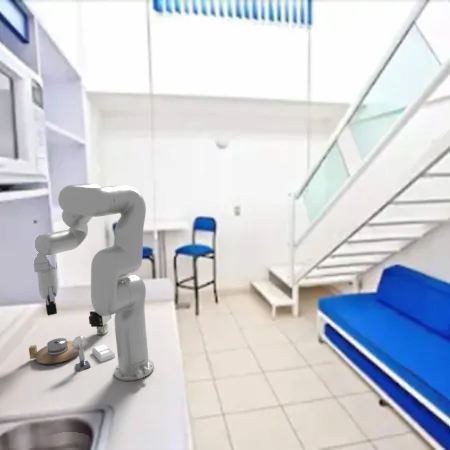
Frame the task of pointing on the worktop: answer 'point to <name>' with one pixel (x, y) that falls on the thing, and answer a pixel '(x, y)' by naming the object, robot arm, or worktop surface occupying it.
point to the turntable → (49, 359)
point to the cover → (57, 346)
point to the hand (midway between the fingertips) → (52, 314)
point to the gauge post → (81, 352)
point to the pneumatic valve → (99, 322)
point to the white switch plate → (103, 353)
